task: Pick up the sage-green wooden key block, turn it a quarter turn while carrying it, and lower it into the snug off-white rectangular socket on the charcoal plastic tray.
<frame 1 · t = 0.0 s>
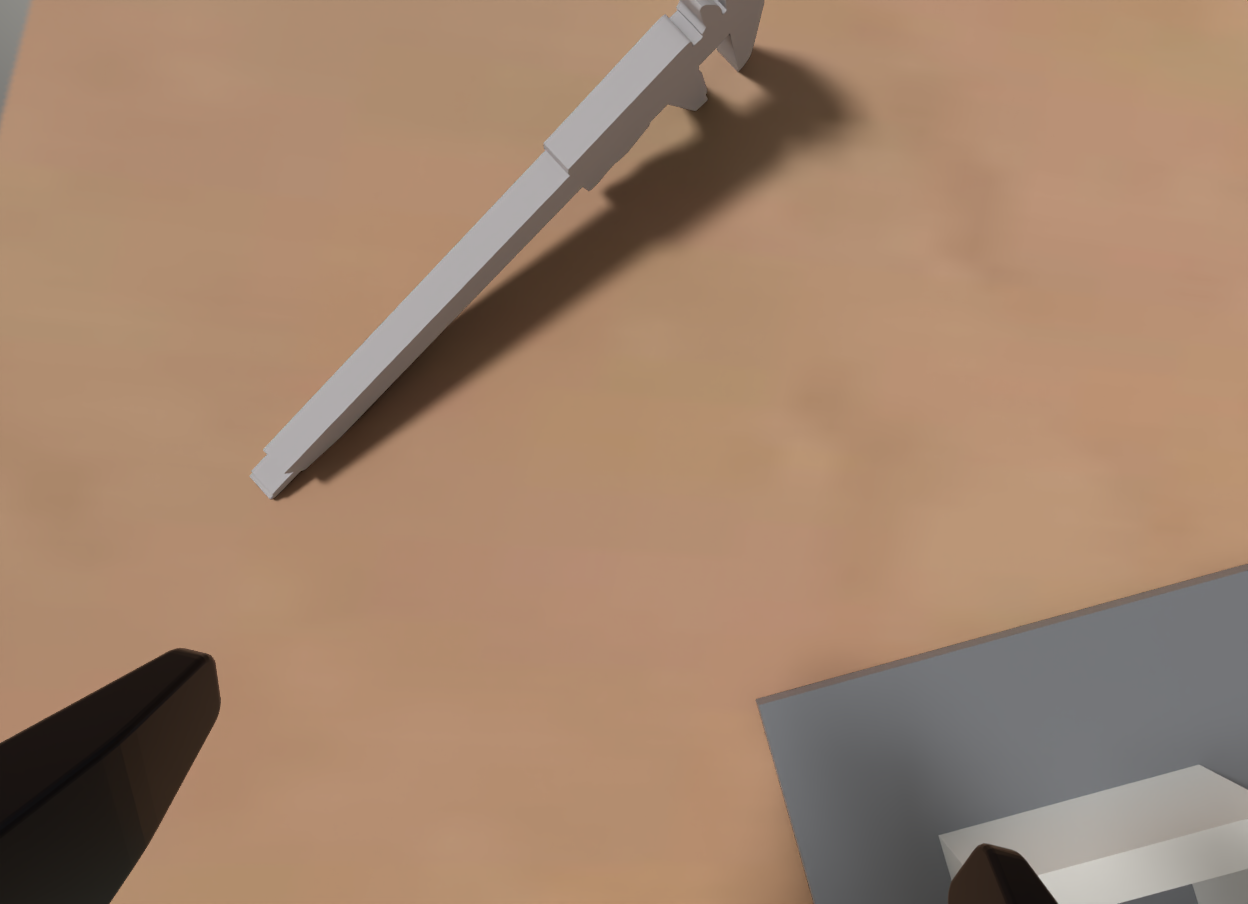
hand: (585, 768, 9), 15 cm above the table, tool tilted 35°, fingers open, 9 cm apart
caliper: (503, 273, 25), on the table
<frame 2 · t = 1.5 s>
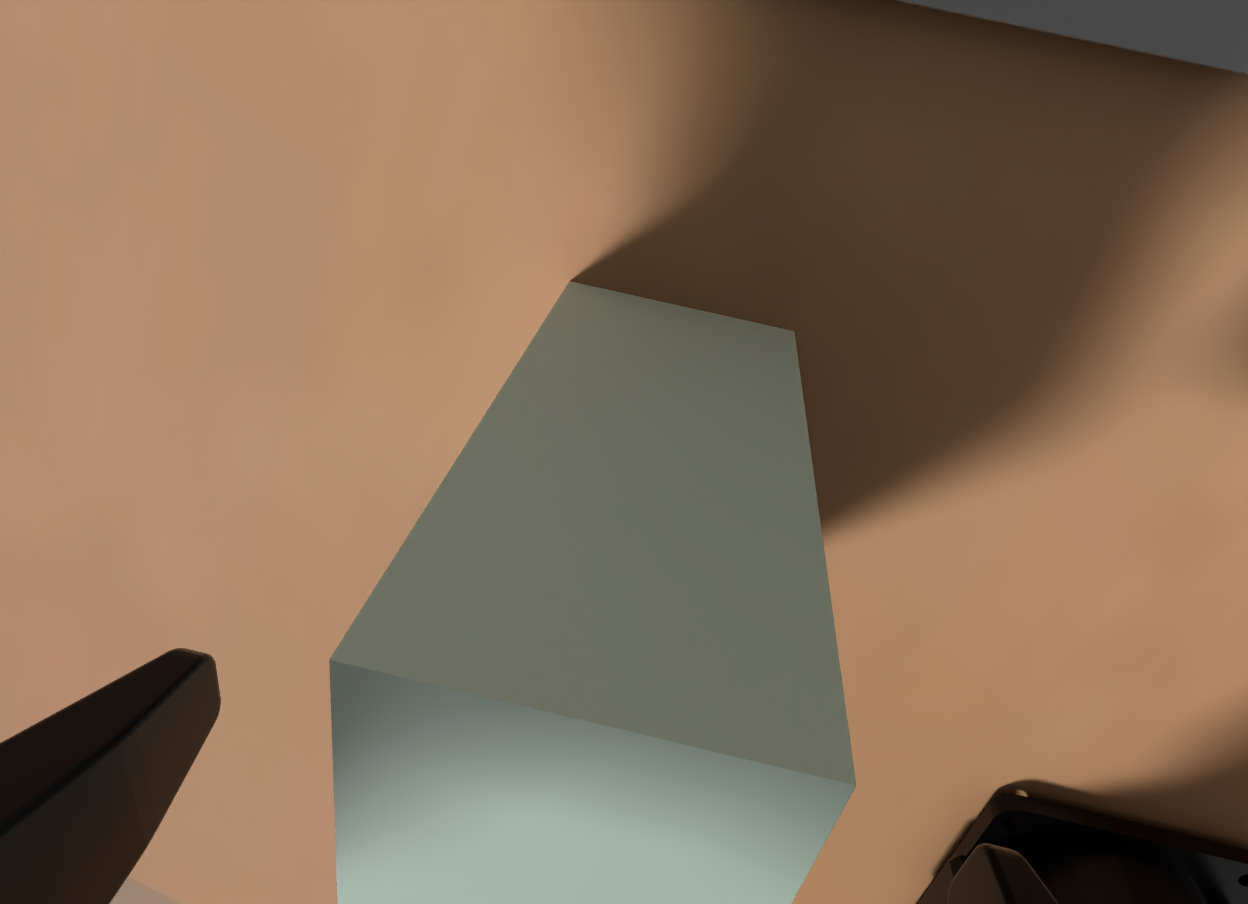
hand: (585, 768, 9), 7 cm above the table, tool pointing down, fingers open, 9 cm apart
key block: (648, 450, 15), on the table
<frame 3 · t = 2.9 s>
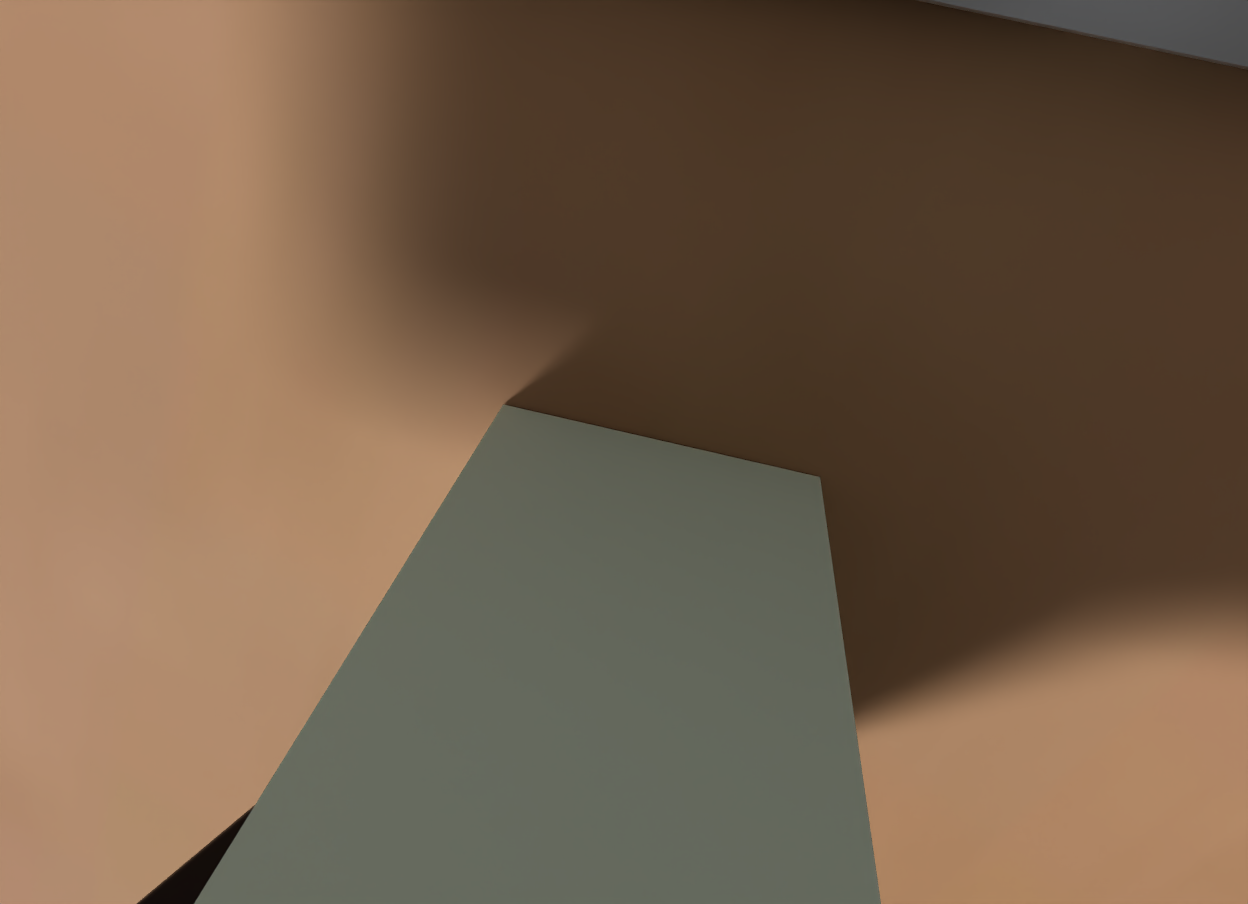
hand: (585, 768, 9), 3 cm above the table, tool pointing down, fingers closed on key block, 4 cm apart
key block: (618, 617, 11), on the table, touching gripper
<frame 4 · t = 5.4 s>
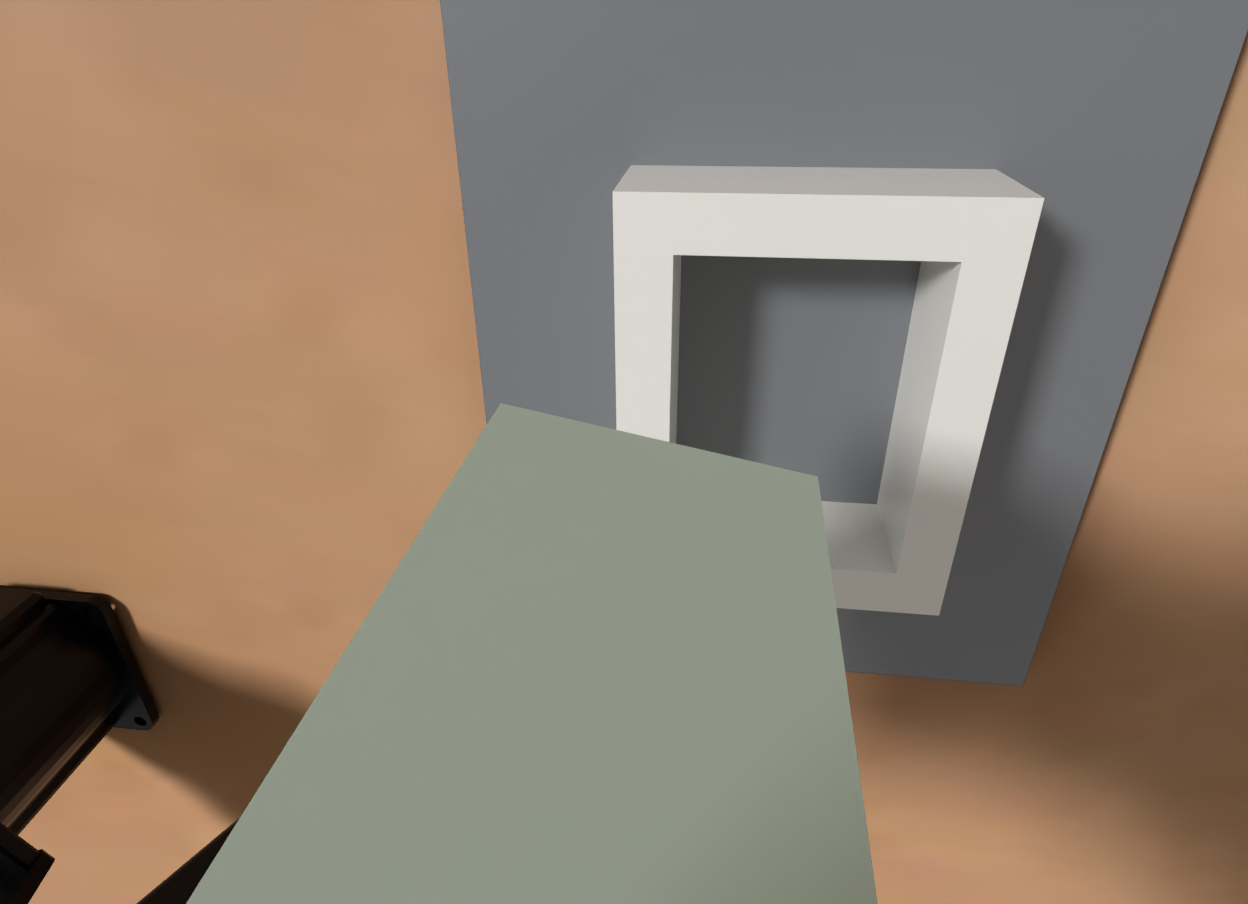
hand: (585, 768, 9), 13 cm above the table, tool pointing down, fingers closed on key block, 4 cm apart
socket tray: (785, 364, 20), on the table
key block: (615, 616, 11), point 11 cm above the table, touching gripper
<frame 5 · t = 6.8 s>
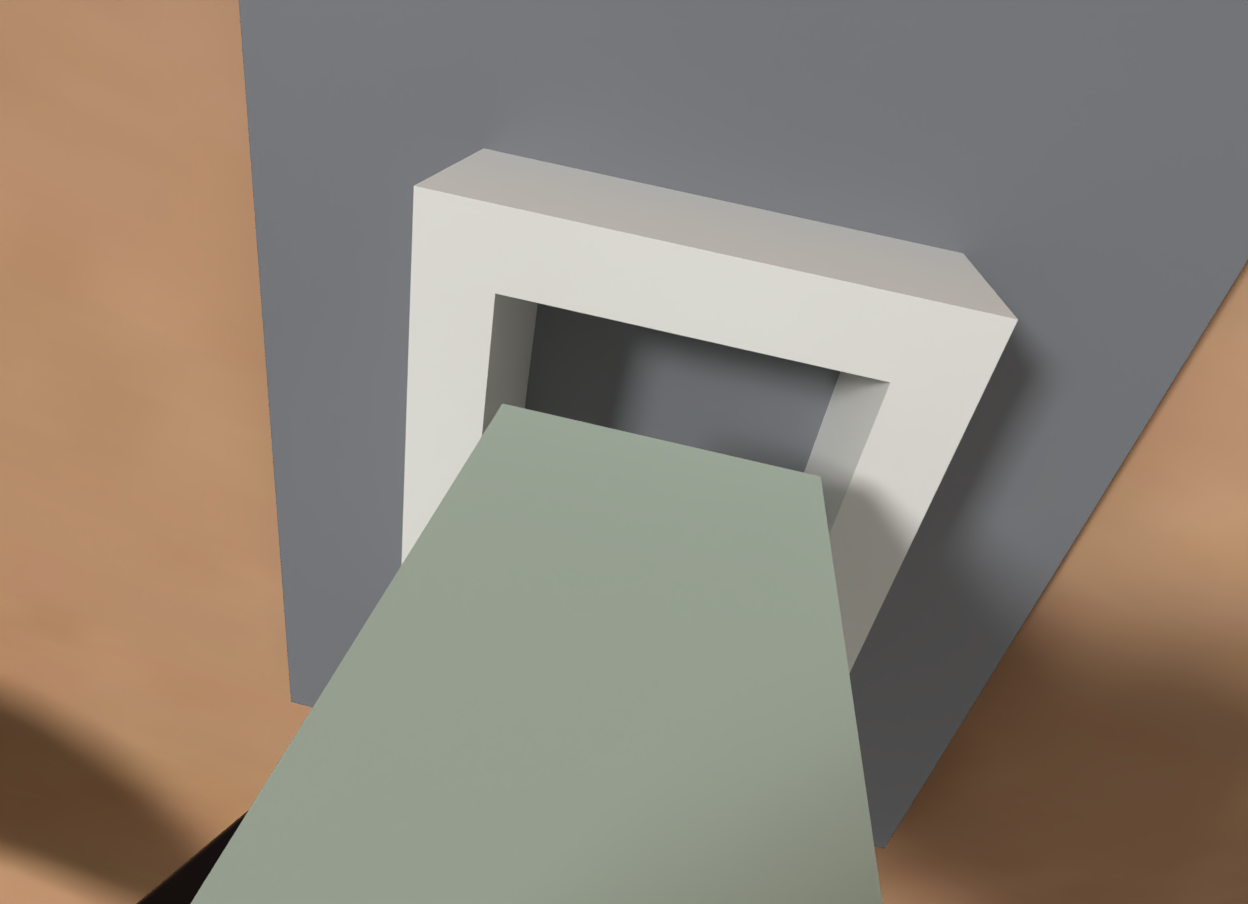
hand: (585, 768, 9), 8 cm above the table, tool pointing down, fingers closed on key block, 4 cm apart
socket tray: (662, 441, 15), on the table
key block: (618, 617, 11), point 5 cm above the table, touching gripper
when the fingers open (5 cm above the table, at t = 7.9 s): key block drops 1 cm, resting on socket tray.
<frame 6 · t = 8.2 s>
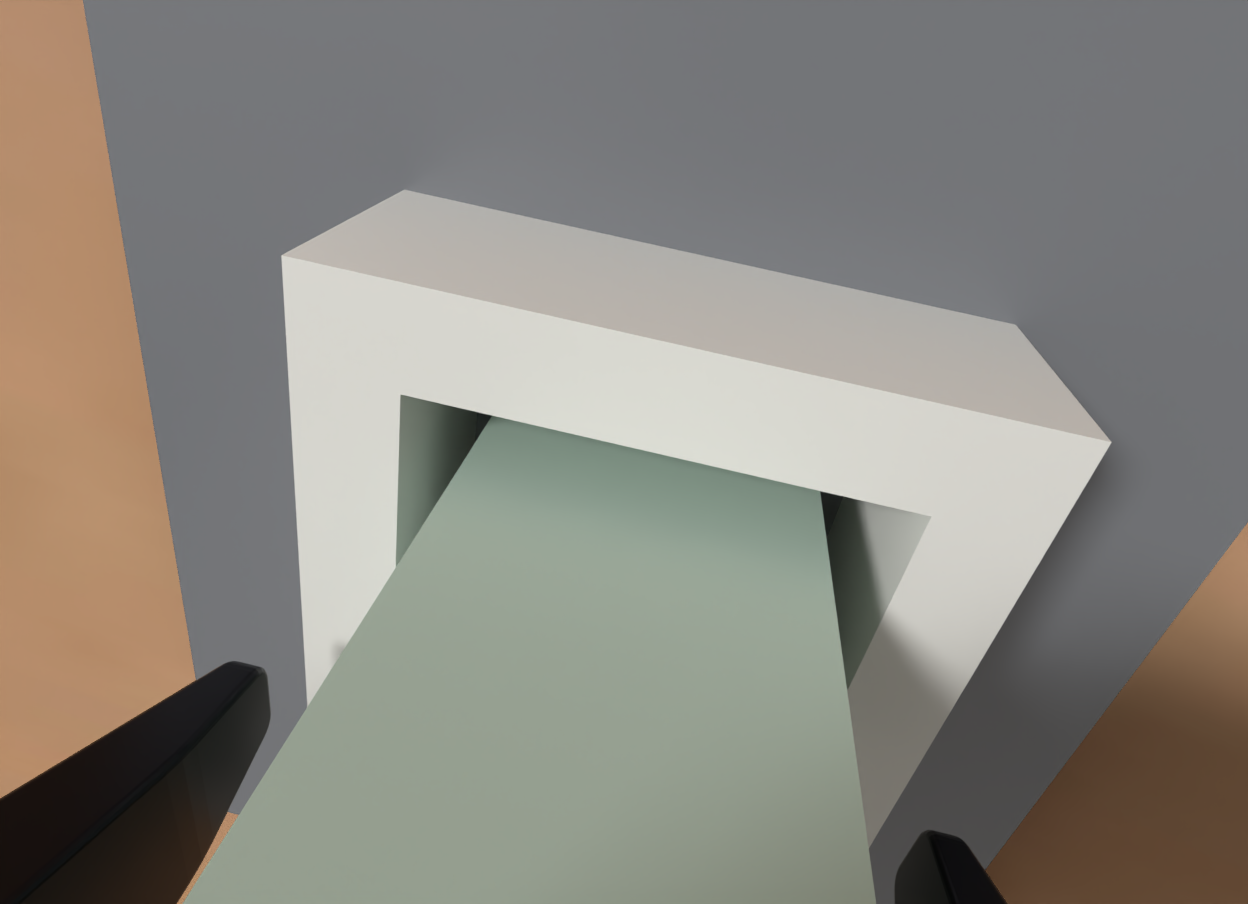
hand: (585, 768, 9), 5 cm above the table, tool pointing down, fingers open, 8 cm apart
socket tray: (639, 534, 13), on the table
key block: (630, 553, 12), point 1 cm above the table, touching socket tray
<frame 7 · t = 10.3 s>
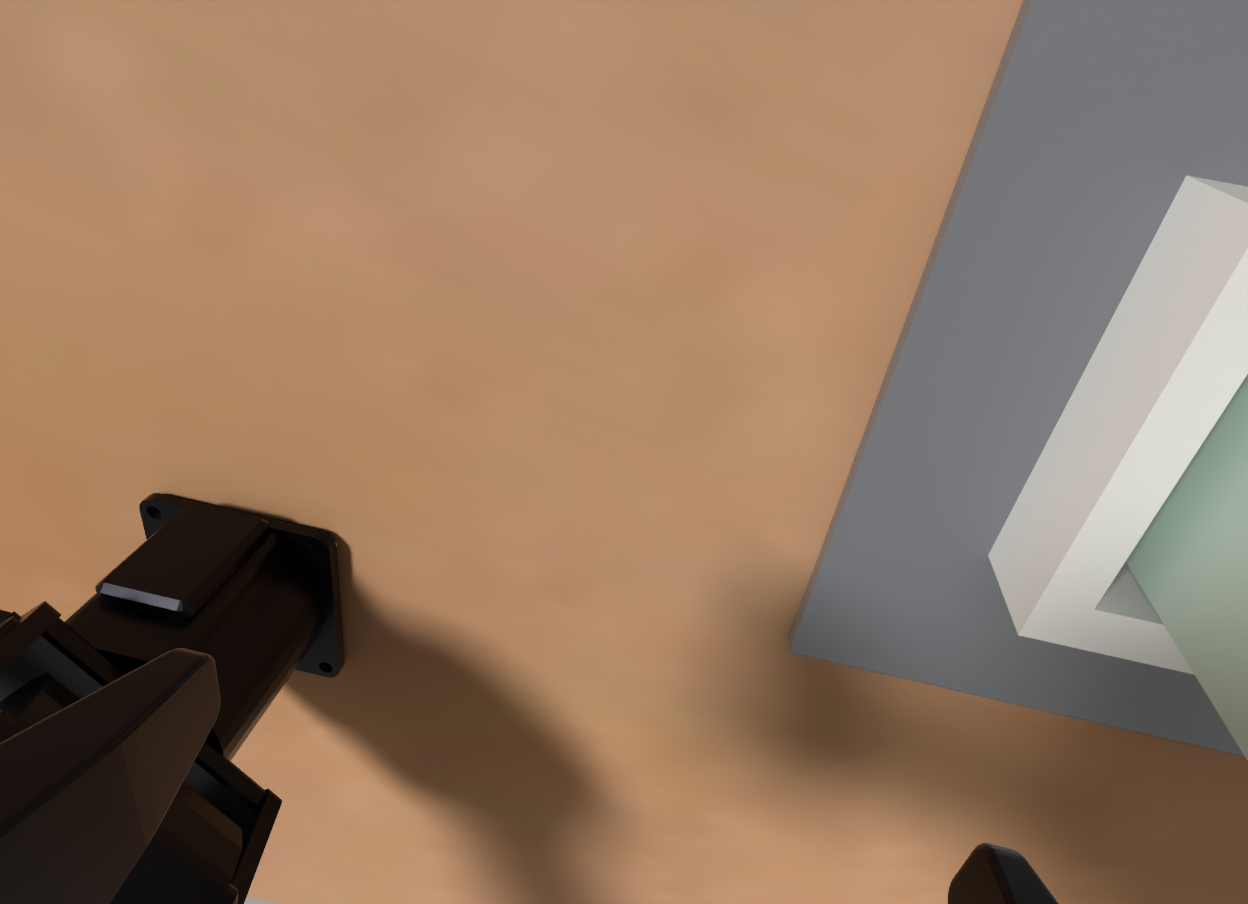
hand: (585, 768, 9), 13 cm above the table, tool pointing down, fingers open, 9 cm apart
socket tray: (1233, 416, 18), on the table
key block: (1244, 426, 18), point 1 cm above the table, touching socket tray
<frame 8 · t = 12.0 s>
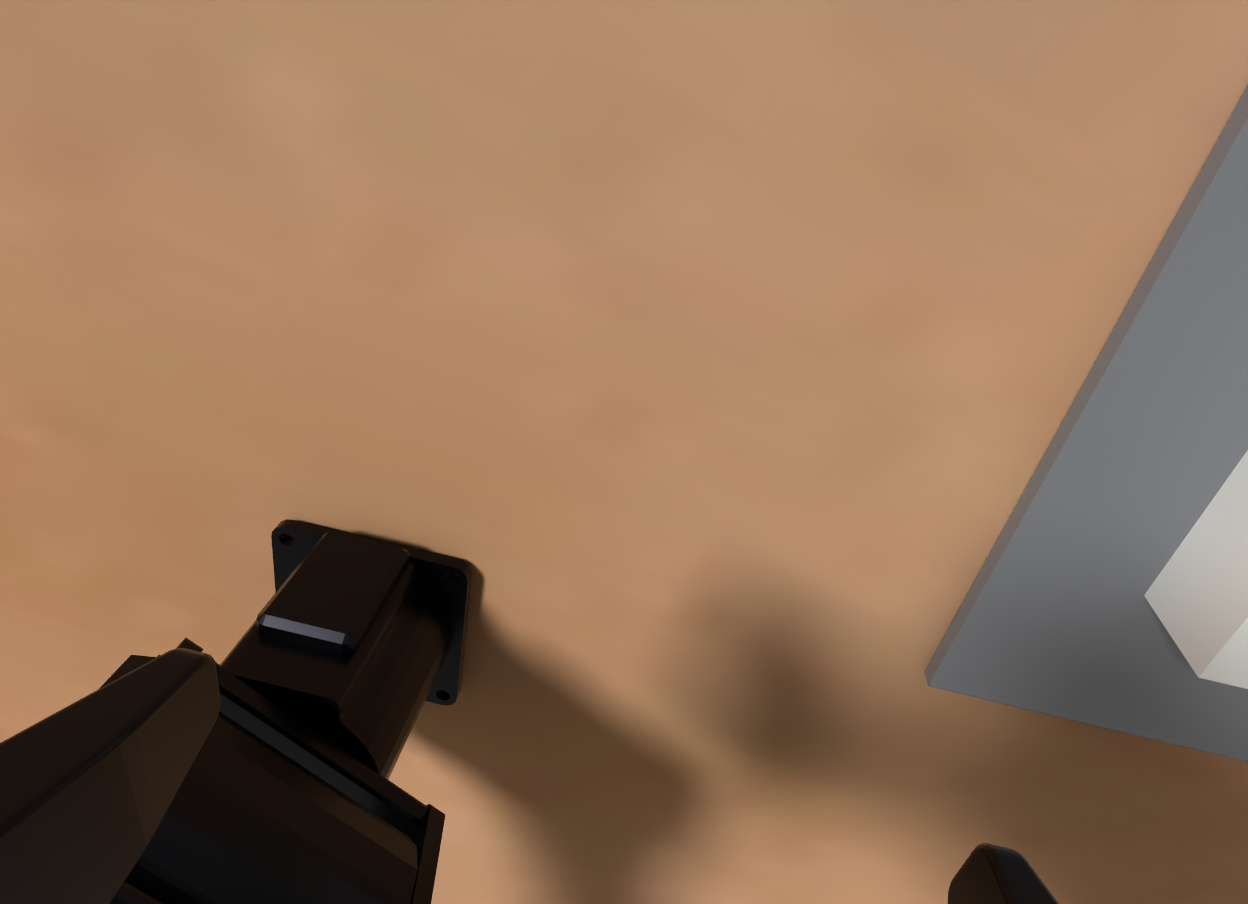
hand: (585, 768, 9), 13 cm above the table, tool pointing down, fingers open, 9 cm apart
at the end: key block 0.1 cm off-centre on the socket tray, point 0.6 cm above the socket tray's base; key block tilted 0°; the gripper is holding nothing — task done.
